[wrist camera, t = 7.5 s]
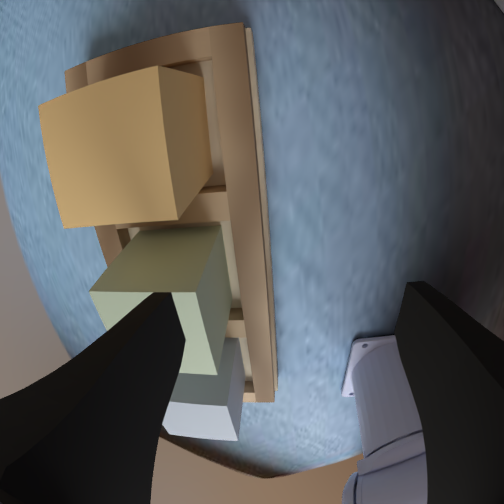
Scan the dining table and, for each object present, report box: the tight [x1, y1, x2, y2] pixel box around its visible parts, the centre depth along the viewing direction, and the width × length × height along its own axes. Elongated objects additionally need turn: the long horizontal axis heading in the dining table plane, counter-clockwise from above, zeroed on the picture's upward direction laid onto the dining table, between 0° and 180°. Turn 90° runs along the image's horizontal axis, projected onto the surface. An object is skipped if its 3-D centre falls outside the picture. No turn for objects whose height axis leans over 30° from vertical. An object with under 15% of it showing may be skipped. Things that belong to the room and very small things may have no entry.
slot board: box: [65, 22, 278, 402], centre depth 18 cm, size 10×26×3 cm, turn 5°
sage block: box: [89, 225, 233, 375], centre depth 15 cm, size 5×5×6 cm
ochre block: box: [38, 66, 213, 229], centre depth 11 cm, size 5×5×6 cm
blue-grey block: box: [162, 337, 246, 441], centre depth 19 cm, size 5×5×6 cm
